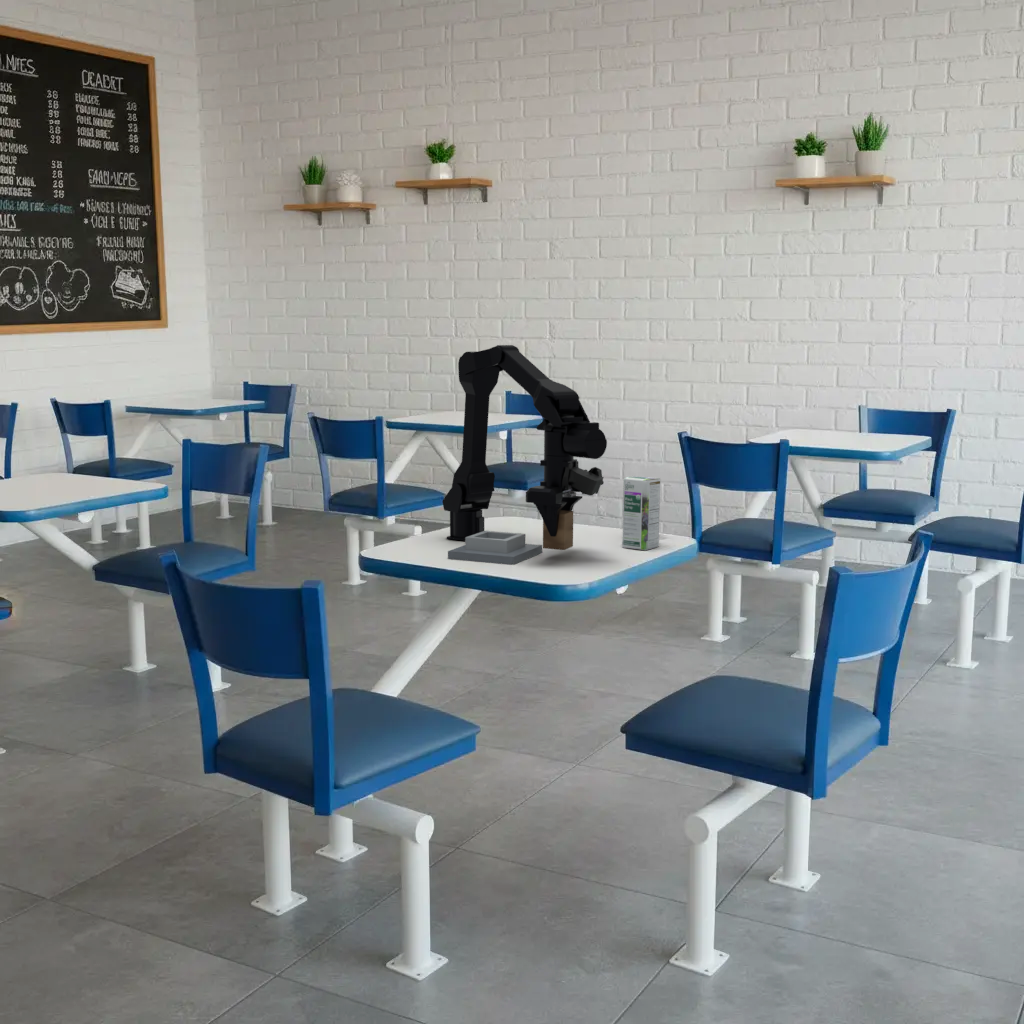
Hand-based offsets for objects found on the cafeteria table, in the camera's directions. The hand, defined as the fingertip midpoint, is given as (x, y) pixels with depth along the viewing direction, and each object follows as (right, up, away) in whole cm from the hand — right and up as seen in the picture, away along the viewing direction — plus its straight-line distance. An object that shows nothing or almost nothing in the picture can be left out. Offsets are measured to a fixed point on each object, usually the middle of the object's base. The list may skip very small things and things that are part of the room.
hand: (558, 534), depth 238 cm
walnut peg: (0, -3, 0) cm, 3 cm away
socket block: (-12, -4, +3) cm, 13 cm away
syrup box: (+17, -3, +12) cm, 22 cm away
